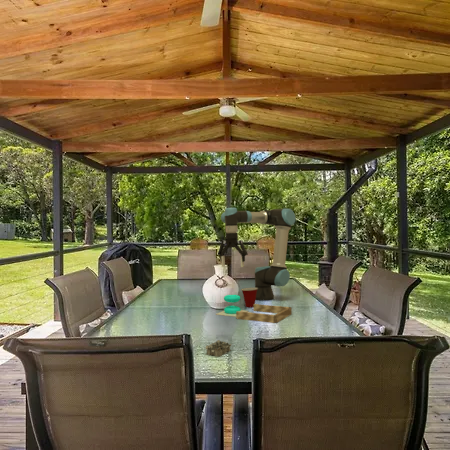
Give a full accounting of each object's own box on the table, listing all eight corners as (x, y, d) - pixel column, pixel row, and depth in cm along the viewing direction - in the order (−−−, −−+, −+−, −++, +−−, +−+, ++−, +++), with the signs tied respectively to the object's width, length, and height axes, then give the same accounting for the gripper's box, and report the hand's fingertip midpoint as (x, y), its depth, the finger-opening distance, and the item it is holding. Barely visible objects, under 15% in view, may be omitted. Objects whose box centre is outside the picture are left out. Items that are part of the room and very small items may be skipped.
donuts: (222, 294, 238) (238, 293, 240) (222, 311, 238) (238, 310, 240) (225, 297, 229) (241, 296, 230) (225, 314, 229) (242, 313, 230)
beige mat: (215, 314, 231) (215, 314, 231) (228, 309, 245) (228, 308, 245) (236, 317, 224) (236, 316, 224) (248, 311, 238) (248, 310, 238)
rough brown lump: (218, 358, 155) (218, 347, 155) (203, 355, 159) (203, 345, 159) (233, 350, 164) (233, 340, 164) (218, 347, 168) (218, 338, 168)
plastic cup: (247, 304, 260) (246, 286, 260) (261, 306, 254) (260, 287, 254) (238, 307, 251) (237, 288, 251) (252, 309, 245) (252, 289, 245)
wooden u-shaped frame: (236, 318, 219) (236, 311, 219) (254, 310, 240) (254, 304, 240) (276, 323, 208) (276, 315, 208) (291, 314, 229) (291, 307, 229)
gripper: (211, 233, 245) (212, 266, 246) (246, 232, 233) (248, 267, 233) (217, 232, 252) (218, 265, 252) (252, 232, 239) (253, 266, 240)
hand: (232, 266), depth 243 cm, fingers open, 13 cm apart
